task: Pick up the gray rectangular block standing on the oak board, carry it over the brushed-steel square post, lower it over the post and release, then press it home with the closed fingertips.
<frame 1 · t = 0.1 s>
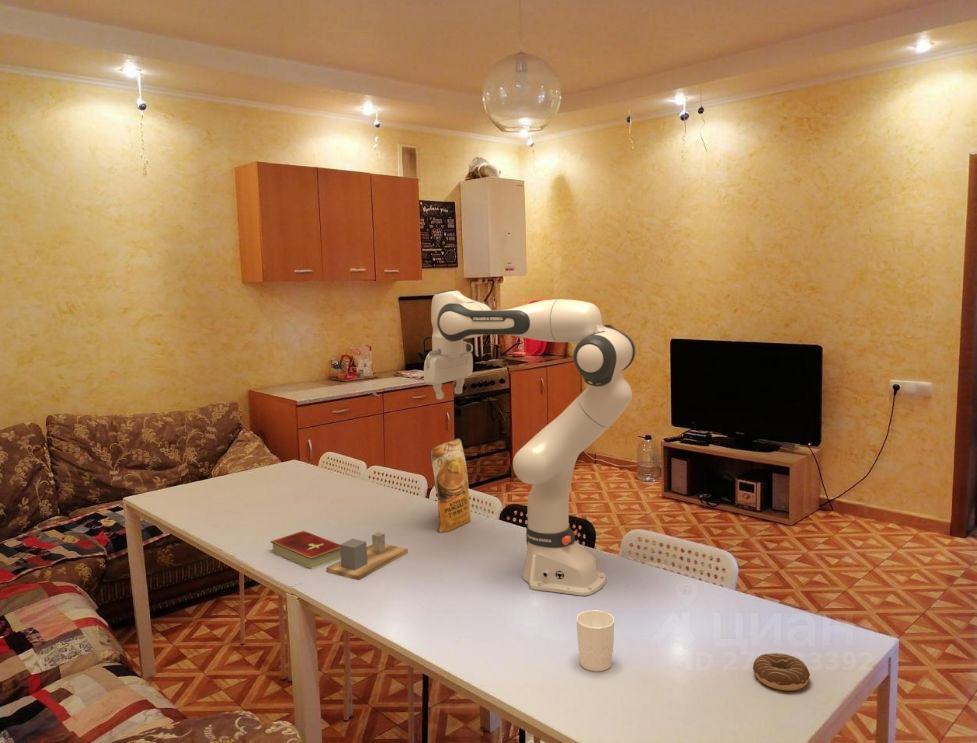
hand: (449, 396, 206), 48 cm above the table, fingers open, 8 cm apart
donut: (780, 680, 146), on the table
hardcover book: (308, 556, 217), on the table
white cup: (595, 664, 153), on the table
post: (379, 552, 214), resting on board
gray rectangular block: (354, 565, 205), point 1 cm above the table, touching board
board: (368, 561, 210), on the table
pancake mix bag: (452, 525, 239), on the table
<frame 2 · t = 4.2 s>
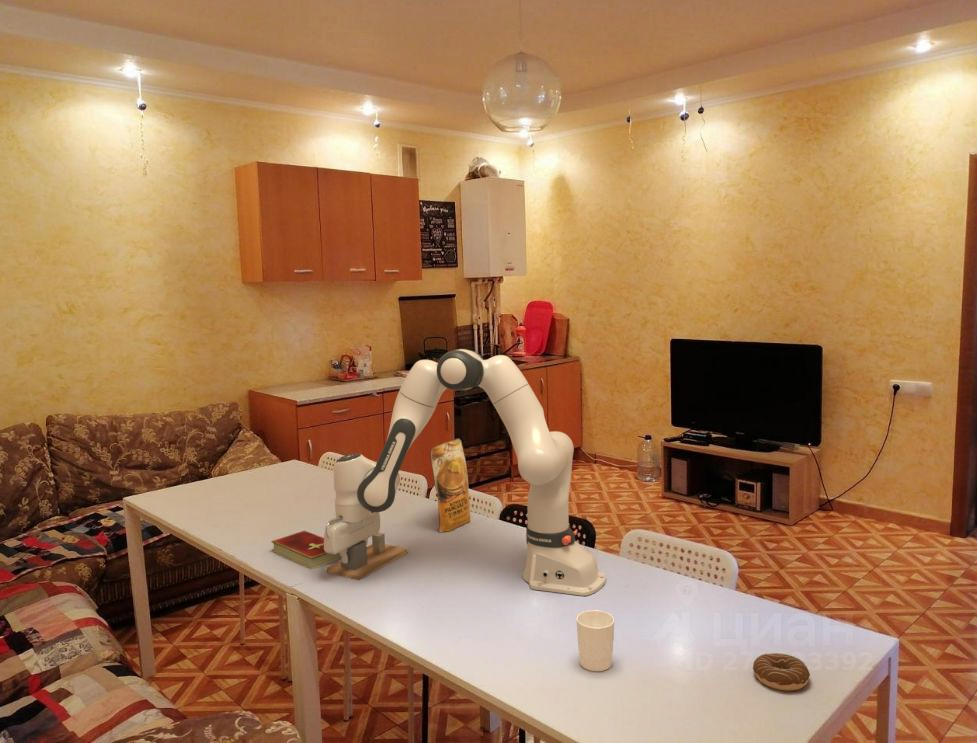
hand: (354, 558, 205), 3 cm above the table, fingers closed on gray rectangular block, 5 cm apart
gray rectangular block: (354, 565, 205), point 1 cm above the table, touching board, gripper
everything else where it was.
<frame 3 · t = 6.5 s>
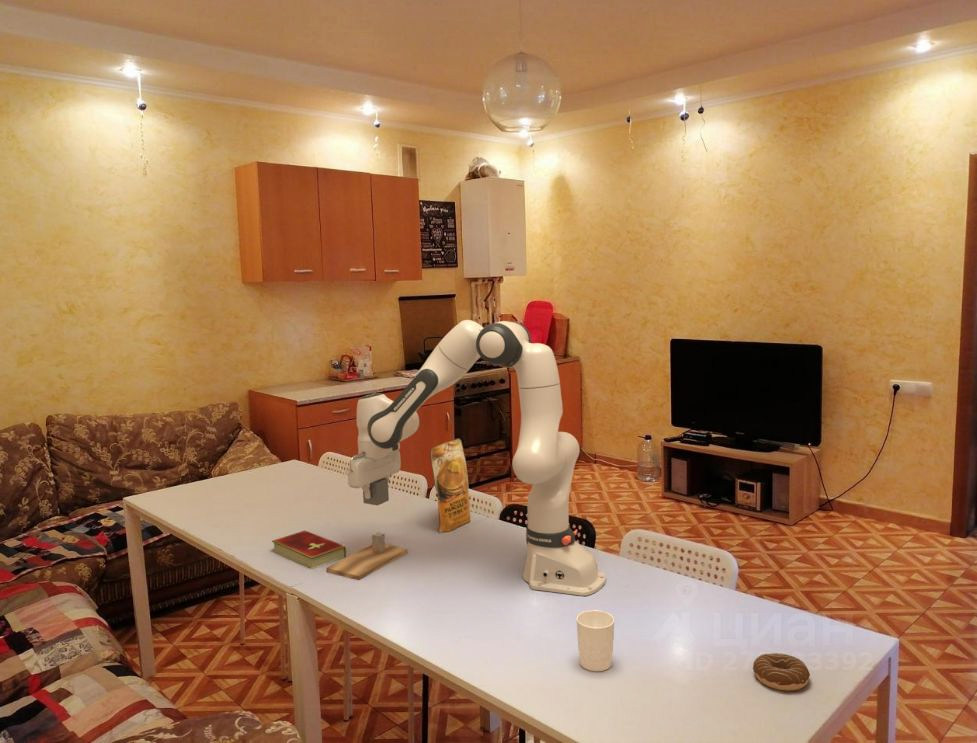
hand: (376, 494, 212), 19 cm above the table, fingers closed on gray rectangular block, 5 cm apart
gray rectangular block: (376, 501, 212), point 17 cm above the table, touching gripper
everything else where it was.
when the fingers open (6 cm above the table, at t = 8.9 s): gray rectangular block drops 2 cm, resting on board.
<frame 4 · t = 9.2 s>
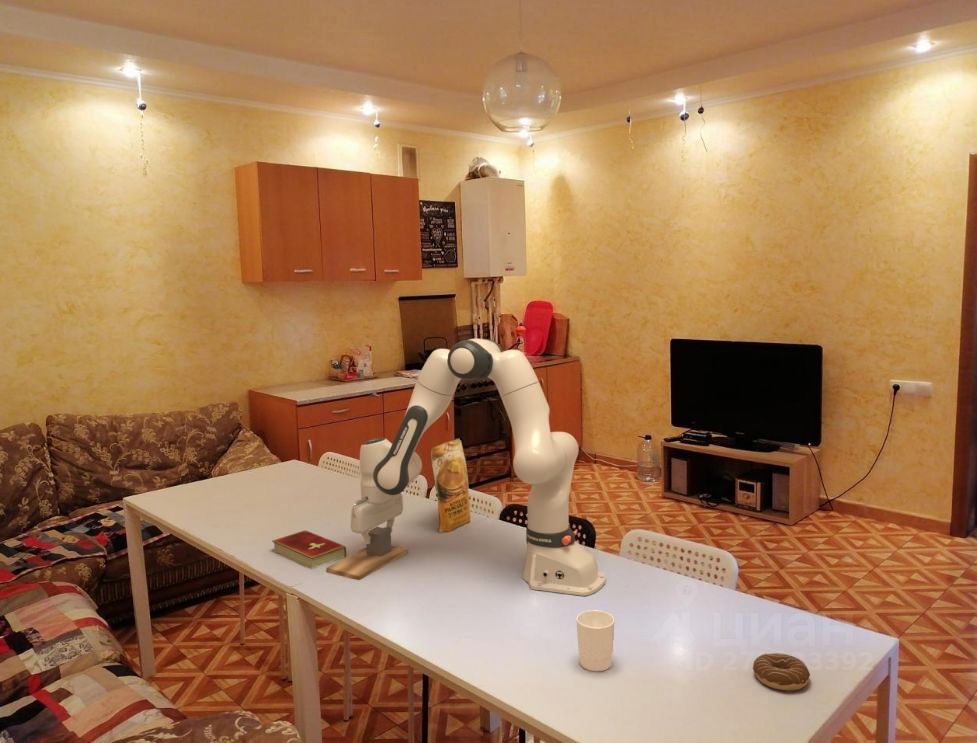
hand: (378, 538, 214), 6 cm above the table, fingers open, 8 cm apart
gray rectangular block: (379, 552, 214), point 1 cm above the table, touching board
everything else where it was.
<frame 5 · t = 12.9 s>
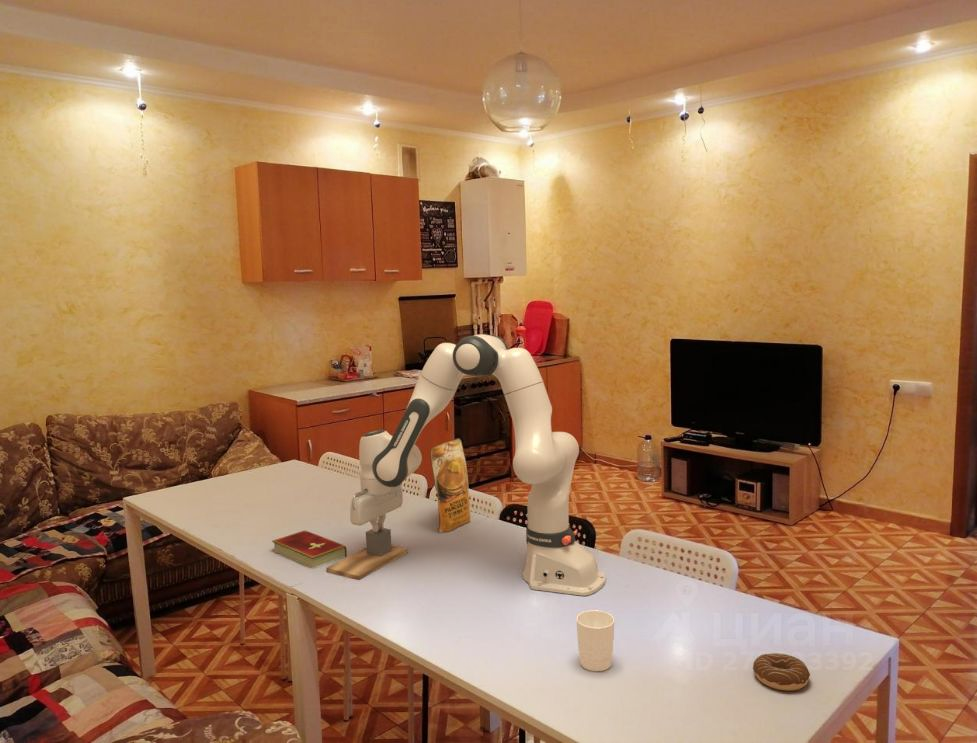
hand: (378, 530, 214), 8 cm above the table, fingers closed
nothing on the table moved.
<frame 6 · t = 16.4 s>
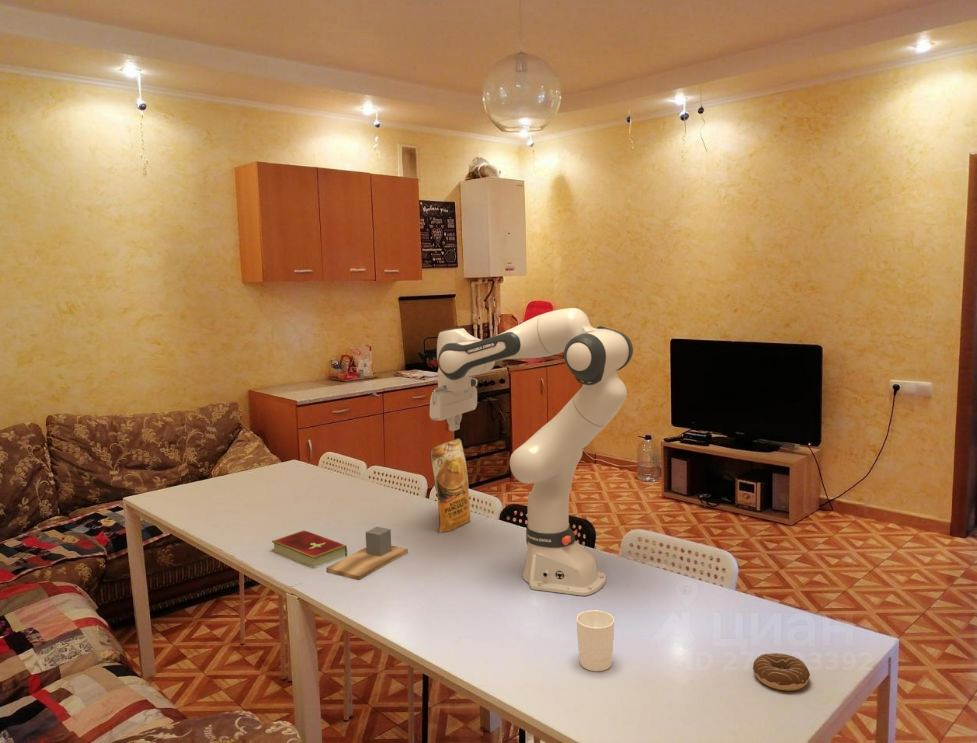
hand: (454, 430, 212), 37 cm above the table, fingers closed
nothing on the table moved.
at the end: gray rectangular block 0.0 cm from the post (horizontally); gray rectangular block point 1.2 cm above the table; the gripper is holding nothing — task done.
